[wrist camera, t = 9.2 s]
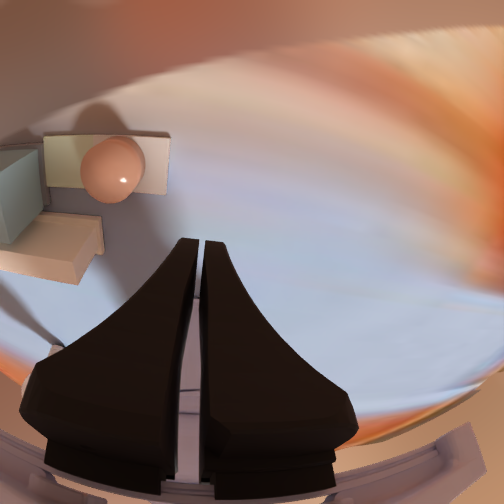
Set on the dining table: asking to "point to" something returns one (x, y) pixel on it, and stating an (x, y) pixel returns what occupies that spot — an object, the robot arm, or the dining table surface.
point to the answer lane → (76, 146)
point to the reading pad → (41, 162)
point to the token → (112, 169)
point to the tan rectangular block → (55, 247)
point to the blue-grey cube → (18, 192)
